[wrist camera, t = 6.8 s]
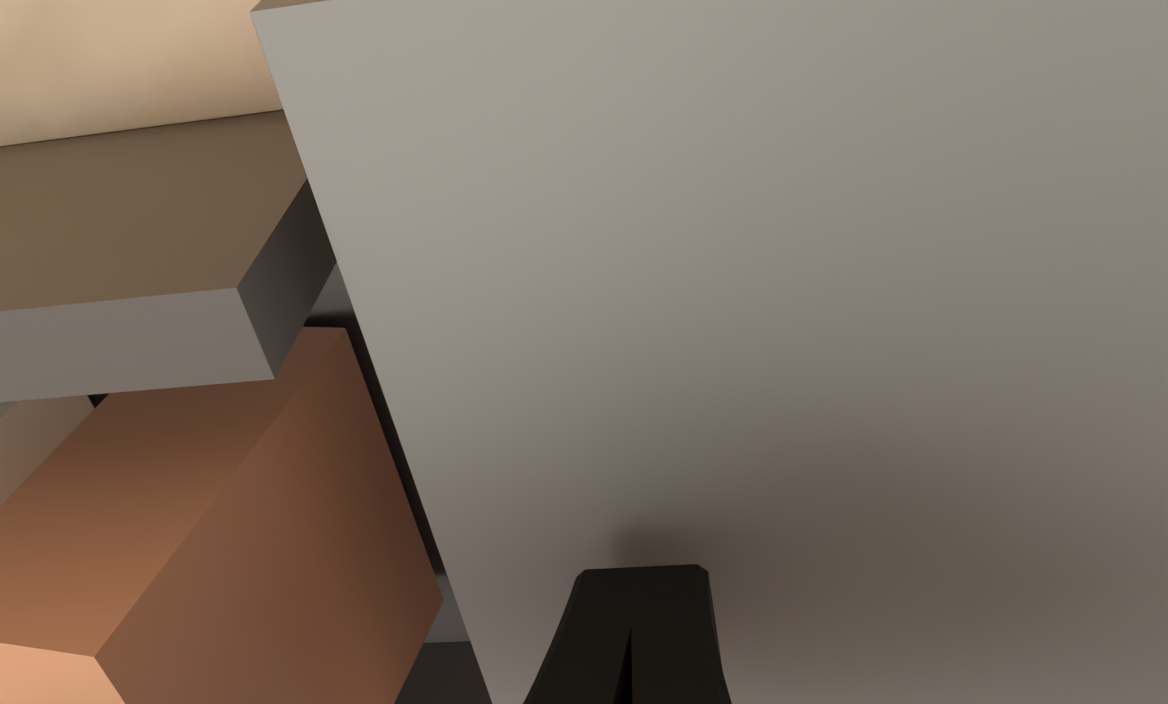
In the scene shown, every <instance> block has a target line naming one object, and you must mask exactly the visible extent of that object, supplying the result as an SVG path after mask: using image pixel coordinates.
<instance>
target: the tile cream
mask: <svg viewBox="0 0 1168 704" xmlns="http://www.w3.org/2000/svg"><path fill="white" fill-rule="evenodd" d="M93 410H94V407H93V405H92V403H91V401H90V400H89V398H88V396H87V395H80V396H69V397H57V398H45V399H33V400H21V401H9V402H0V505H1V504H2V503H3V502H4V501H5V500H6V499H7V498H8V497H9V496H10V495H11V494H12V493H13V492H14V491H15V490H16V489H17V488H18V487H19V486H20V485H21V484H22V483H23V482H24V481H25V480H26V479H27V478H28V477H29V476H30V475H31V474H32V473H33V472H34V471H35V470H36V468H37V467H38V466H39V465H40V464H41V463H42V462H43V461H44V460H45V459H46V458H47V457H48V456H49V455H50V454H51V453H52V452H53V451H54V450H55V449H56V448H57V447H58V446H59V445H60V444H61V443H62V442H63V441H64V440H65V439H66V438H67V437H68V436H69V435H70V434H71V433H72V432H73V431H74V429H75V428H76V427H77V426H78V425H79V424H80V423H81V422H82V421H83V420H84V419H85V418H86V417H87V416H88V415H89V414H90V413H91V412H92V411H93Z"/></svg>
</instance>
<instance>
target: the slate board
mask: <svg viewBox="0 0 1168 704" xmlns="http://www.w3.org/2000/svg"><path fill="white" fill-rule="evenodd" d="M250 15H251V18H252V21H253V24H254V27H255V30H256V32H257V35H258V38H259V41H260V44H261V47H262V49H263V52H264V55H265V58H266V61H267V64H268V67H269V69H270V72H271V75H272V78H273V81H274V84H275V86H276V89H277V92H278V95H279V98H280V101H281V103H282V106H283V109H284V112H285V115H286V118H287V121H288V123H289V126H290V129H291V132H292V135H293V138H294V140H295V143H296V146H297V149H298V152H299V155H300V158H301V160H302V163H303V166H304V169H305V172H306V175H307V177H308V180H309V183H310V186H311V189H312V192H313V195H314V197H315V200H316V203H317V206H318V209H319V212H320V214H321V217H322V220H323V223H324V226H325V229H326V232H327V234H328V237H329V240H330V243H331V246H332V249H333V251H334V254H335V257H336V260H337V263H338V266H339V269H340V271H341V274H342V277H343V280H344V283H345V286H346V288H347V291H348V294H349V297H350V300H351V303H352V306H353V308H354V311H355V314H356V317H357V320H358V323H359V325H360V328H361V331H362V334H363V337H364V340H365V343H366V345H367V348H368V351H369V354H370V357H371V360H372V362H373V365H374V368H375V371H376V374H377V377H378V379H379V382H380V385H381V388H382V391H383V394H384V397H385V399H386V402H387V405H388V408H389V411H390V414H391V416H392V419H393V422H394V425H395V428H396V431H397V434H398V436H399V439H400V442H401V445H402V448H403V451H404V453H405V456H406V459H407V462H408V465H409V468H410V471H411V473H412V476H413V479H414V482H415V485H416V488H417V490H418V493H419V496H420V499H421V502H422V505H423V508H424V510H425V513H426V516H427V519H428V522H429V525H430V527H431V530H432V533H433V536H434V539H435V542H436V545H437V547H438V550H439V553H440V556H441V559H442V562H443V564H444V567H445V570H446V573H447V576H448V579H449V582H450V584H451V587H452V590H453V593H454V596H455V599H456V601H457V604H458V607H459V610H460V613H461V616H462V619H463V621H464V624H465V627H466V630H467V633H468V636H469V638H470V641H471V644H472V647H473V650H474V653H475V656H476V658H477V661H478V664H479V667H480V670H481V673H482V675H483V678H484V681H485V684H486V687H487V690H488V692H489V695H490V698H491V701H492V704H523V703H524V701H525V699H526V697H527V695H528V693H529V691H530V689H531V687H532V684H533V682H534V680H535V678H536V676H537V673H538V671H539V669H540V667H541V665H542V662H543V660H544V658H545V656H546V653H547V651H548V649H549V647H550V644H551V642H552V639H553V637H554V635H555V632H556V630H557V627H558V625H559V622H560V620H561V617H562V615H563V612H564V610H565V607H566V604H567V602H568V599H569V596H570V593H571V591H572V588H573V585H574V582H575V579H576V577H577V576H578V575H579V574H580V573H581V572H582V571H583V570H585V569H604V568H624V567H645V566H666V565H687V564H698V565H699V566H701V567H702V568H704V569H705V570H707V571H708V573H709V580H710V587H711V593H712V600H713V607H714V614H715V621H716V628H717V635H718V642H719V649H720V656H721V662H722V669H723V674H724V678H725V681H726V685H727V688H728V692H729V695H730V699H731V702H732V704H1168V0H261V1H260V2H259V3H258V4H257V5H256V6H255V7H254V8H253V9H252V10H251V11H250Z"/></svg>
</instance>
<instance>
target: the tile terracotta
mask: <svg viewBox="0 0 1168 704" xmlns="http://www.w3.org/2000/svg"><path fill="white" fill-rule="evenodd" d="M443 601H444V599H443V597H442V594H441V591H440V588H439V585H438V583H437V580H436V577H435V574H434V572H433V569H432V566H431V563H430V561H429V558H428V555H427V552H426V549H425V547H424V544H423V541H422V538H421V536H420V533H419V530H418V527H417V525H416V522H415V519H414V516H413V513H412V511H411V508H410V505H409V502H408V500H407V497H406V494H405V491H404V489H403V486H402V483H401V480H400V477H399V475H398V472H397V469H396V466H395V464H394V461H393V458H392V455H391V453H390V450H389V447H388V444H387V441H386V439H385V436H384V433H383V430H382V428H381V425H380V422H379V419H378V417H377V414H376V411H375V408H374V405H373V403H372V400H371V397H370V394H369V392H368V389H367V386H366V383H365V381H364V378H363V375H362V372H361V369H360V367H359V364H358V361H357V358H356V356H355V353H354V350H353V347H352V345H351V342H350V339H349V336H348V333H347V331H346V328H330V327H302V329H301V331H300V332H299V334H298V336H297V338H296V340H295V342H294V344H293V346H292V348H291V349H290V351H289V353H288V355H287V357H286V359H285V361H284V363H283V365H282V367H281V368H280V370H279V372H278V374H277V376H276V378H275V379H271V380H259V381H247V382H235V383H223V384H211V385H200V386H188V387H176V388H164V389H152V390H140V391H128V392H116V393H110V394H109V395H108V396H107V397H106V398H105V399H104V400H103V401H102V402H101V403H100V404H99V405H98V406H97V407H96V408H95V409H94V410H93V411H92V412H91V413H90V414H89V415H88V416H87V417H86V418H85V419H84V420H83V421H82V422H81V423H80V424H79V425H78V426H77V427H76V428H75V429H74V431H73V432H72V433H71V434H70V435H69V436H68V437H67V438H66V439H65V440H64V441H63V442H62V443H61V444H60V445H59V446H58V447H57V448H56V449H55V450H54V451H53V452H52V453H51V454H50V455H49V456H48V457H47V458H46V459H45V460H44V461H43V462H42V463H41V464H40V465H39V466H38V467H37V468H36V470H35V471H34V472H33V473H32V474H31V475H30V476H29V477H28V478H27V479H26V480H25V481H24V482H23V483H22V484H21V485H20V486H19V487H18V488H17V489H16V490H15V491H14V492H13V493H12V494H11V495H10V496H9V497H8V498H7V499H6V500H5V501H4V502H3V503H2V504H1V505H0V704H394V703H395V701H396V699H397V696H398V694H399V692H400V690H401V688H402V686H403V684H404V682H405V680H406V678H407V676H408V674H409V672H410V670H411V668H412V665H413V663H414V661H415V659H416V657H417V655H418V653H419V651H420V649H421V647H422V645H423V643H424V641H425V639H426V637H427V634H428V632H429V630H430V628H431V626H432V624H433V622H434V620H435V618H436V616H437V614H438V612H439V610H440V608H441V605H442V603H443Z"/></svg>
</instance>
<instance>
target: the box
mask: <svg viewBox="0 0 1168 704" xmlns="http://www.w3.org/2000/svg"><path fill="white" fill-rule="evenodd" d="M302 327H330V328H346V331H347V333H348V336H349V339H350V342H351V345H352V347H353V350H354V353H355V356H356V358H357V361H358V364H359V367H360V369H361V372H362V375H363V378H364V381H365V383H366V386H367V389H368V392H369V394H370V397H371V400H372V403H373V405H374V408H375V411H376V414H377V417H378V419H379V422H380V425H381V428H382V430H383V433H384V436H385V439H386V441H387V444H388V447H389V450H390V453H391V455H392V458H393V461H394V464H395V466H396V469H397V472H398V475H399V477H400V480H401V483H402V486H403V489H404V491H405V494H406V497H407V500H408V502H409V505H410V508H411V511H412V513H413V516H414V519H415V522H416V525H417V527H418V530H419V533H420V536H421V538H422V541H423V544H424V547H425V549H426V552H427V555H428V558H429V561H430V563H431V566H432V569H433V572H434V574H435V577H436V580H437V583H438V585H439V588H440V591H441V594H442V597H443V599H444V601H443V603H442V605H441V608H440V610H439V612H438V614H437V616H436V618H435V620H434V622H433V624H432V626H431V628H430V630H429V632H428V634H427V637H426V639H425V641H424V643H423V645H422V647H421V649H420V651H419V653H418V655H417V657H416V659H415V661H414V663H413V665H412V668H411V670H410V672H409V674H408V676H407V678H406V680H405V682H404V684H403V686H402V688H401V690H400V692H399V694H398V696H397V699H396V701H395V703H394V704H492V701H491V698H490V695H489V692H488V690H487V687H486V684H485V681H484V678H483V675H482V673H481V670H480V667H479V664H478V661H477V658H476V656H475V653H474V650H473V647H472V644H471V641H470V638H469V636H468V633H467V630H466V627H465V624H464V621H463V619H462V616H461V613H460V610H459V607H458V604H457V601H456V599H455V596H454V593H453V590H452V587H451V584H450V582H449V579H448V576H447V573H446V570H445V567H444V564H443V562H442V559H441V556H440V553H439V550H438V547H437V545H436V542H435V539H434V536H433V533H432V530H431V527H430V525H429V522H428V519H427V516H426V513H425V510H424V508H423V505H422V502H421V499H420V496H419V493H418V490H417V488H416V485H415V482H414V479H413V476H412V473H411V471H410V468H409V465H408V462H407V459H406V456H405V453H404V451H403V448H402V445H401V442H400V439H399V436H398V434H397V431H396V428H395V425H394V422H393V419H392V416H391V414H390V411H389V408H388V405H387V402H386V399H385V397H384V394H383V391H382V388H381V385H380V382H379V379H378V377H377V374H376V371H375V368H374V365H373V362H372V360H371V357H370V354H369V351H368V348H367V345H366V343H365V340H364V337H363V334H362V331H361V328H360V325H359V323H358V320H357V317H356V314H355V311H354V308H353V306H352V303H351V300H350V297H349V294H348V291H347V288H346V286H345V283H344V280H343V277H342V274H341V271H340V269H339V266H338V263H337V260H336V257H335V254H334V251H333V249H332V246H331V243H330V240H329V237H328V234H327V232H326V229H325V226H324V223H323V220H322V217H321V214H320V212H319V209H318V206H317V203H316V200H315V197H314V195H313V192H312V189H311V186H310V183H309V180H308V177H307V175H306V172H305V169H304V166H303V163H302V160H301V158H300V155H299V152H298V149H297V146H296V143H295V140H294V138H293V135H292V132H291V129H290V126H289V123H288V121H287V118H286V115H285V112H284V110H283V111H275V112H267V113H260V114H252V115H244V116H237V117H229V118H221V119H214V120H206V121H198V122H191V123H183V124H175V125H167V126H160V127H152V128H144V129H137V130H129V131H121V132H114V133H106V134H98V135H90V136H83V137H75V138H67V139H60V140H52V141H44V142H37V143H29V144H21V145H13V146H6V147H0V402H9V401H21V400H33V399H45V398H57V397H69V396H80V395H87V396H88V398H89V400H90V401H91V403H92V405H93V407H94V409H95V408H96V407H97V406H98V405H99V404H100V403H101V402H102V401H103V400H104V399H105V398H106V397H107V396H108V395H109V394H110V393H116V392H128V391H140V390H152V389H164V388H176V387H188V386H200V385H211V384H223V383H235V382H247V381H259V380H271V379H275V378H276V376H277V374H278V372H279V370H280V368H281V367H282V365H283V363H284V361H285V359H286V357H287V355H288V353H289V351H290V349H291V348H292V346H293V344H294V342H295V340H296V338H297V336H298V334H299V332H300V331H301V329H302Z"/></svg>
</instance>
